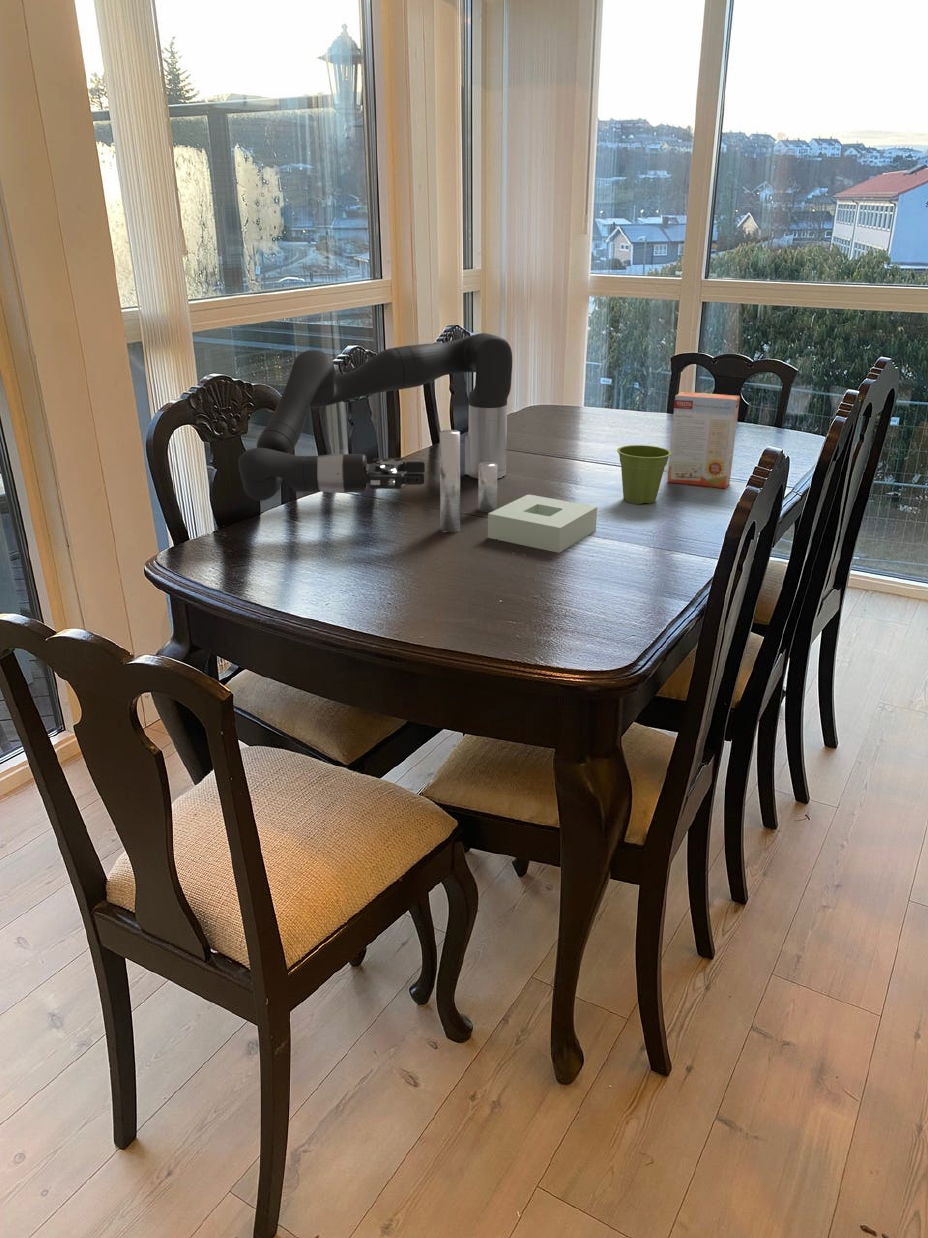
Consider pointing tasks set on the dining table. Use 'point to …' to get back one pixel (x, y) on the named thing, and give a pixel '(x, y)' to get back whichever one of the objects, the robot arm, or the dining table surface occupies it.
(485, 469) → the short steel pin
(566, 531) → the hole block
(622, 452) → the plant pot
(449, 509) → the long steel pin
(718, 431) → the cracker box
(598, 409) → the dining table surface
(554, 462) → the dining table surface
